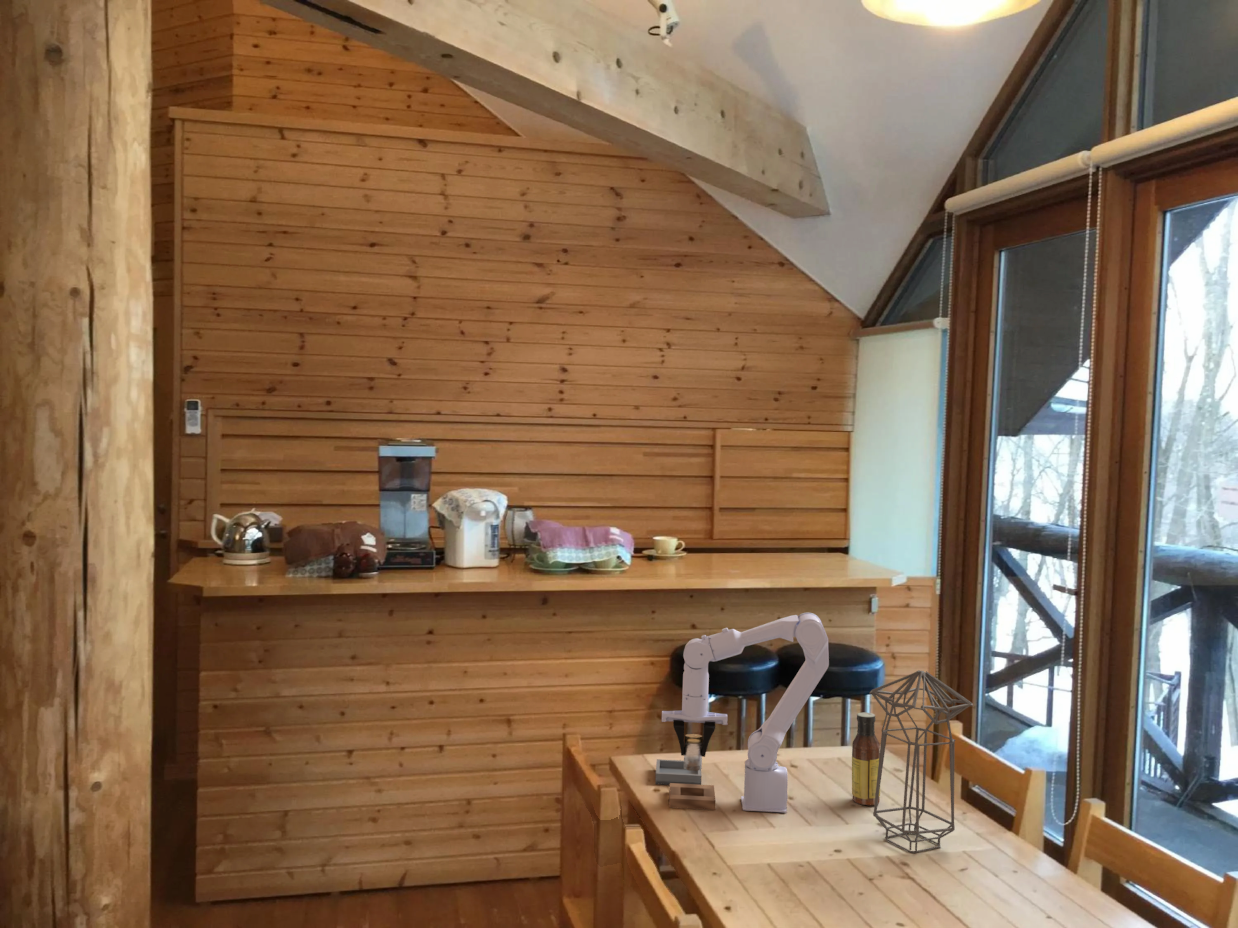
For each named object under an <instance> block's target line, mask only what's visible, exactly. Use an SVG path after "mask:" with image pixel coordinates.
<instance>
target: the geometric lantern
mask: <svg viewBox="0 0 1238 928" xmlns="http://www.w3.org/2000/svg"><path fill="white" fill-rule="evenodd" d="M916 680H917V682H916V685H915V687H914V688H912V687H913V685H914V684H915V681H916ZM903 681H904V682H903ZM921 681H922V684H923V686H922V688H920V686H921ZM900 682H903V683H902V684H901V685H900V686H899V687H898V688H896V689H895V691H885V690H883V689H885V688H887V687H890V686H892V685H895V684H897V683H900ZM929 687H930V689H931V690H930V689H929ZM902 689H903V690H902ZM943 689H944V690H945V691H947V693H950V694H951V695H953V697H956V698H957V699H952V698H951V697H950V696H949V695H948V694H947V693H946V692H945V691H944V690H943ZM919 691H922V705H921V706H920V707H916V706H917V700H918V696H919ZM912 692H913V693H912ZM925 692H926V693H927V697H928V699H929V703H930V705H925ZM909 693H912V694H911V695H910V696H909V697H908V699H907V698H906V697H907V695H908V694H909ZM869 695H872V697H873V698H874V700H875V701H876V702H877V703H878V705H880V706H879V707H881V709H882V710H883V711H884V712H885V716H884V717H885V718H884V720H883V723H882V728H881V735H880V737H881V738H880V755H879V765H878V775H877V785H876V795H875V804H874V805H873V812H872V813H873V815H872V816H873V817H874V818H875V819H876V820H877V821H878V823H879V824H881V826H882V828H884V829H885V837H884V839H885V841H887V842H888V843H890V844H893V845H895V846H897V847H898V848H899V849H902V850H904V851H906V852H908V853H911V854H917V853H922V852H926V851H931V850H936V849H940V848H941V839H942V838H944V837H945V836H948V835H949V834H951V833H953V832H954V831H955V754H956V753H955V752H956V751H955V743H956V739H954V738H953V735H952V729H951V723H950V720H951V719H953V718H955V717H956V716H957V715H959V714H961V713H962V712H963V711H965V710H967V709H968V708H969V707H973V705H974V703H972V701H970V700H969V699H967V698H966V697H964V696H963V695H961V694H960V693H959V692H957V691H955V690H954V689H953V688H951V687H950V686H948V685H947V684H945V683H944V682H942V681H941V680H940V679H938V678H937V677H935V676H934V675H932V674H931V673H930V672H928V671H924V670H919V669H918V670H916V671H915V672H911V673H910V674H907V675H906V676H903V677H901V678H898V679H896V680H893V681H890V682H888V683H886V684H882V685H881V686H878V687H876V688H873V689H871V690H870V692H869ZM886 695H889V696H886ZM897 695H898V697H897V698H896V699H895V696H897ZM934 696H935V697H937V698H938V700H939V701H940V703H941V705H942V707H941V706H940V704H939V703H938V702H937V700H936V699H935V698H934ZM902 697H903V701H902V703H901V702H900V700H901V698H902ZM879 698H880V699H881V700H883V701H884V702H885V703H882V701H881V700H880V699H879ZM906 699H907V700H906ZM911 700H912V704H909V703H910V702H911ZM956 703H958V704H959V703H961V704H959V705H958V704H957V705H956ZM888 704H889V705H890V706H891V708H890V710H889V709H888ZM947 704H948V705H952V706H950V707H949V706H947ZM897 708H902V710H901V711H899V712H897V711H896V709H897ZM912 709H913V710H919V711H923V713H925V715H926V716H927V717H928V718H929V719H930V722H929V724H928V725H927V726H926V728H923V727H918V725H917V723H915V721H914V718H912V716H911V714H910V713H909V711H911V710H912ZM927 709H928V710H929V709H931V710H933V711H935V716H934V717H933V716H932V715H931V714H930V713H929V712H928V711H927ZM950 711H951V712H950ZM905 713H907V716H908V717H909V718H910V720H911V721H912V723H913V725H914V726H915V727H914V726H913V727H904V725H903V723H902V720H901V719H900V716H901V715H903V714H905ZM941 713H943V714H945V716H946V718H945V719H941V720H939V719H938V718H939V716H940V715H941ZM892 717H895V718H896V720H897V722H898V724H899V725H900V727H901V728H890V729H889V726H890V723H891V719H892ZM942 723H943V724H944V723H946V724H947V730H948V736H946V735H944V734H942V733H937V732H936V731H933V730H930V728H931V726H932V725H933V724H935V725H938V724H942ZM885 724H886V725H885ZM884 728H885V729H884ZM908 730H915V740H914V742H913V741H911V739H910V738H909V737H910V736H909V735H908V733H907V731H908ZM895 731H897V732H898V731H903V734H904V736H905V738H906V740H905V739H902V738H900V737H897V736H896V735H894V734H893V735H892V734H891V733H889V732H895ZM920 731H921V732H922V733H921V734H920V733H919V732H920ZM928 733H931V734H934V735H936V736H939V737H941V738H944V739H947V740H949V742H944V741H943V742H935V743H934V742H933V743H932V742H931V743H928ZM919 734H920V735H919ZM923 735H924V738H923V739H924V741H923V743H918V742H919V741H920V739H921V738H922V737H923ZM887 737H891V738H893V739H896V740H898V741H901V742H903V743H906V744H907V752H906V753H907V754H906V765H905V780H904V791H903V792H904V794H903V805H902V806H901V807H895V808H894V807H892V808H886V809H880V810H879V809H878V798H879V790H880V791H881V782H882V775H883V768H884V760H885V752H886V746H887V745H886V744H887ZM939 745H948V746H949V752H948V753H949V780H950V781H949V782H950V820H951V821H950V820H948V819H945V818H943V817H941V816H938V815H937V814H934V813H932V812H931V811H928V810H926V809H925V808H926V807H925V802H926V775H927V774H926V773H927V751H928V750H927V746H939ZM911 746H914V749H913V750H914V751H913V759H912V769H911V780H910V790H909V799H908V798H907V797H908V789H909V787H908V784H909V774H910V773H909V771H910V759H911V758H910V757H911ZM920 747H923V762H922V763H923V768H922V794H921V797H922V798H921V807H920ZM915 775H916V776H915ZM915 778H916V779H915ZM915 780H916V784H915ZM914 784H915V789H916V791H915V795H916V796H915V807H914V806H912V803H913V801H912V800H913V796H914V795H913V793H914ZM907 799H908V801H907ZM907 802H908V806H907ZM907 810H908V816H909V822H907V823H906V815H907ZM911 810H913V811H915V822H914V823H912V811H911ZM896 811H902V821H901V822H902V823H901V824H898V825H897V824H894V823H892V822H890V821H888V820H886V819H884V818H883V817H881V816H880V815H879V814H881V813H889V812H896ZM923 813H925V814H927V815H929V816H931V817H933V818H936V819H937V820H940V821H942V822H944V823H946V824H948V825H949V826H948V827H946V828H935V829H928V828H927V827H926V828H925V827H923V826H921V825H920V818H921V817H922V815H923ZM906 826H908V830H907V829H906V830H905V828H906ZM911 826H913V830H911ZM892 829H896V830H897V831H899V832H901V833H898V832H895V831H893V830H892ZM920 829H921V830H920ZM889 832H890V833H892V834H891V835H889ZM909 833H910V834H911V833H912V835H915V839H914V840H913V839H911V838H910V837H909V835H908V834H909ZM923 834H933V835H936V837H934V836H933V837H929V838H928V837H926V836H924V835H923ZM904 835H905V836H904ZM894 837H900V838H902V839H903V840H906V841H908V842H909V848H906V847H904V846H903V845H902V846H901V845H900V844H898V843H896V842H894V841H892V840H891V839H889V838H894ZM918 837H920V839H918ZM921 838H922V839H921ZM935 840H937V841H935ZM924 841H926V842H927V841H929V842H931V843H933V844H935V845H937V846H931V847H927V848H922V849H919V850H918V842H924ZM912 843H915V844H914V845H915V846H914V850H912Z"/></svg>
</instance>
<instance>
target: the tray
mask: <svg viewBox="0 0 1238 928" xmlns="http://www.w3.org/2000/svg"><path fill="white" fill-rule="evenodd" d="M655 767H656V768H655V785H662V786H663V785H667V786H668V785H669V786H670V783H678V784H698V785H702V776H703V775H702V769H701V770H698V771H690V770H686V769H684V760H681V759H680V760H678V759H657V758H656V765H655Z"/></svg>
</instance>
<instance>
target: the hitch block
mask: <svg viewBox="0 0 1238 928" xmlns="http://www.w3.org/2000/svg"><path fill="white" fill-rule="evenodd" d="M668 798H669V799H668V800H669V801H668V805H669V806H668V808H669V807H670V809H673V808H676V809H688V810H689V809H692V810H708V811H709V810H710V811H716V802H717V801H716V791H715V785H714V784H713V785H712V784H711V785H710V784H701V785H698V784H678V783H670V785H669V797H668Z"/></svg>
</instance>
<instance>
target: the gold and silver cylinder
mask: <svg viewBox="0 0 1238 928" xmlns="http://www.w3.org/2000/svg"><path fill="white" fill-rule="evenodd" d="M702 745H703V735H701V734H696V733H687V734H684V756H683V761H684V769H686V770H690V771H698V770H701V771H702V769H703V767H702V765H703V757H702Z"/></svg>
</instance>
